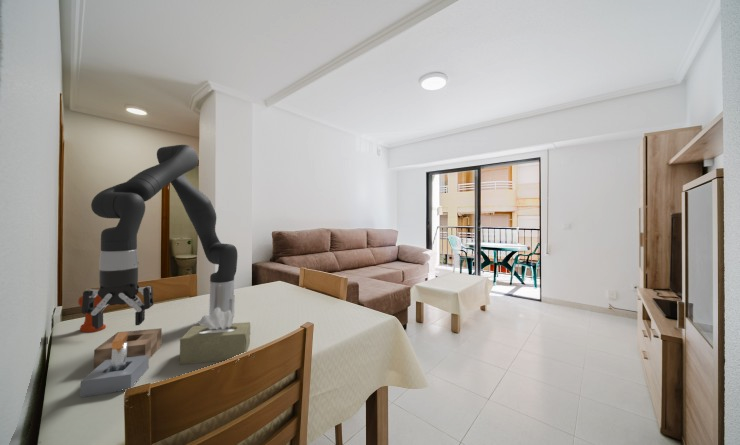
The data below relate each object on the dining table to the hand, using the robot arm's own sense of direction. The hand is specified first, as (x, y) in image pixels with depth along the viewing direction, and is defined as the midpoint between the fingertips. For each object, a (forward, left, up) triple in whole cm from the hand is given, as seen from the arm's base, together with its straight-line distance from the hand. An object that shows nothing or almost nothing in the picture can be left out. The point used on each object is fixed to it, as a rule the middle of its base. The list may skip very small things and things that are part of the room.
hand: (119, 326), depth 71 cm
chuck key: (0, 0, -15) cm, 15 cm away
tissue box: (-22, -9, -16) cm, 28 cm away
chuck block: (+3, -14, -15) cm, 21 cm away
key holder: (0, 0, -15) cm, 15 cm away
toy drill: (+22, -40, -15) cm, 48 cm away
